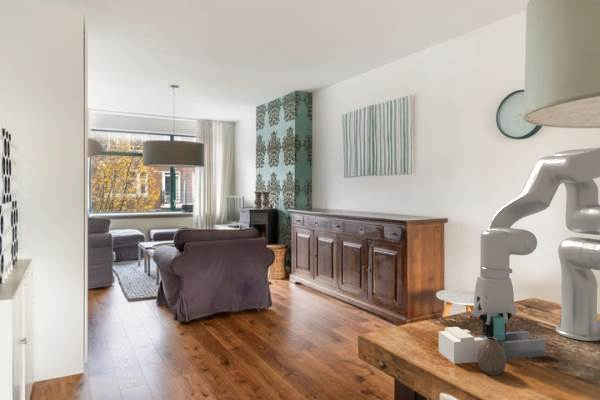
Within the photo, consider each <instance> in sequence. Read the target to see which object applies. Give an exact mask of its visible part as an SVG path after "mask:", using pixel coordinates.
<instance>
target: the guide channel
mask: <svg viewBox="0 0 600 400" xmlns="http://www.w3.org/2000/svg"><path fill="white" fill-rule="evenodd" d="M546 342H547V341H546V339H544V338H531V332H530V331H528V330H521V331H520V330H519V331H506V337H505V341H501V342H498V343H499V344H500V346H501V347H502V348H503V350H504V352H505V354H506V360H512V359H513V360H514V359H525V358H527V359H528V358H537V357H538V358H539V357H547V352H546V345H547V344H546Z"/></svg>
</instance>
